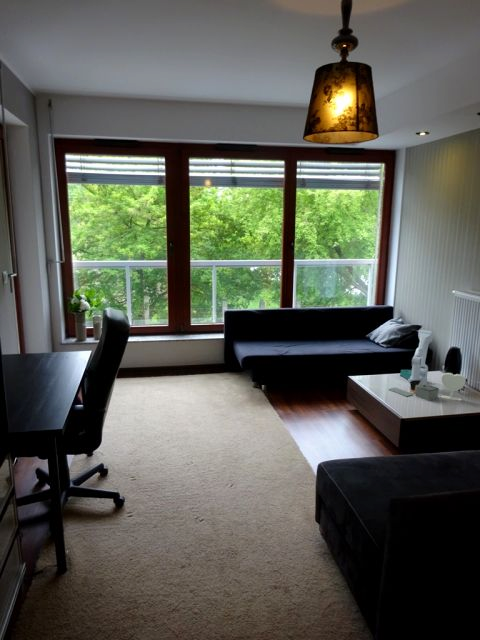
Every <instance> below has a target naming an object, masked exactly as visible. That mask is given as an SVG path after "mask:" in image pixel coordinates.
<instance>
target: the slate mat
mask: <svg viewBox="0 0 480 640" xmlns="http://www.w3.org/2000/svg"><path fill="white" fill-rule="evenodd" d="M388 391H389V392H393V393H396V394H398V395H401V396H404V397H406V398H407V397H411V396H414V393H413V392H410V391H406V390H403V389H401V388H398V387H391V388H388Z"/></svg>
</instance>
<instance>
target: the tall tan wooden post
mask: <svg viewBox="0 0 480 640" xmlns="http://www.w3.org/2000/svg"><path fill="white" fill-rule="evenodd" d="M416 386H419V385H415V389H414V390H411V385H409V393H412V394H415V395H416V390H417V387H416Z"/></svg>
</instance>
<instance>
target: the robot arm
mask: <svg viewBox="0 0 480 640" xmlns="http://www.w3.org/2000/svg"><path fill="white" fill-rule="evenodd" d="M417 334H418V335H417V336H418V340H419V343H418V347H417V348H416V349H415V352H414V355H413V357H412V359H411V367H412V368H411V370H412V374H411V376H410V378H409V379H407V382H408V383H409V384H410V385H411V390H414V389H415V385H423V384H428V382H427V381H428V374H429V373H428V372H429V367H428V365H427V364H426V361H427V360H426V359H427V354H428V350H429V349H428V347H429V345H430V344H431V343H432V342H433V338H434V331H433V330H432V331H431V330H425V329H419V330H418V333H417ZM426 376H427V377H426ZM410 385H409V386H410Z"/></svg>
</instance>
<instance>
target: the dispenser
mask: <svg viewBox="0 0 480 640" xmlns="http://www.w3.org/2000/svg"><path fill="white" fill-rule="evenodd" d="M416 387H417V390H416V394H415V396H416V398H417V397H418V398H420V399H422V400H425V401H431V400H434V399H435V400H436V399H439V397H438V396H439V387H436V386H434V385H431V384H428V383H427V384H423V385H419V386H416Z"/></svg>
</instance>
